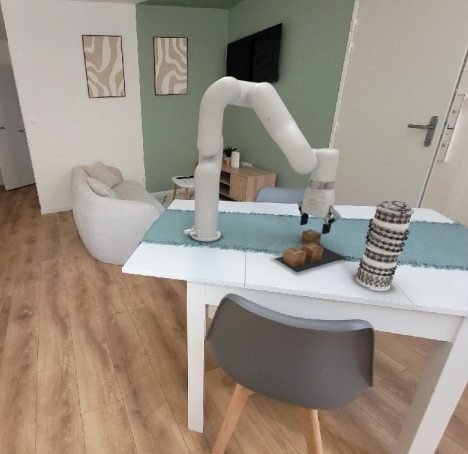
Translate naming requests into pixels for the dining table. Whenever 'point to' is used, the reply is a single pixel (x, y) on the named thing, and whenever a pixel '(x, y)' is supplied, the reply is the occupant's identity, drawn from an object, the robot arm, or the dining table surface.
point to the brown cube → (312, 252)
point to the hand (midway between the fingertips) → (314, 228)
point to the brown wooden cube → (294, 257)
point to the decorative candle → (384, 244)
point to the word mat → (326, 258)
